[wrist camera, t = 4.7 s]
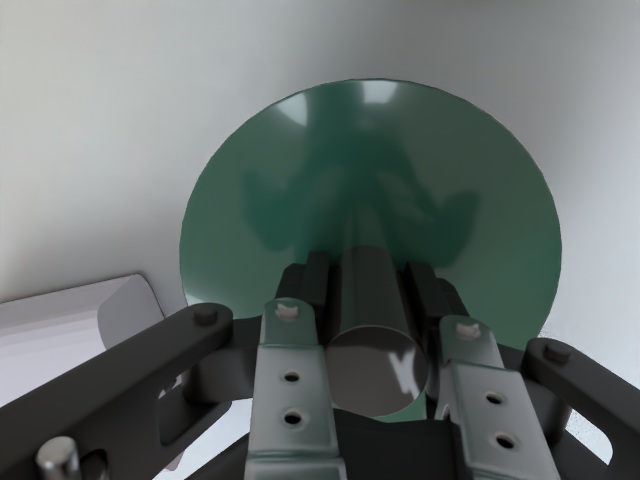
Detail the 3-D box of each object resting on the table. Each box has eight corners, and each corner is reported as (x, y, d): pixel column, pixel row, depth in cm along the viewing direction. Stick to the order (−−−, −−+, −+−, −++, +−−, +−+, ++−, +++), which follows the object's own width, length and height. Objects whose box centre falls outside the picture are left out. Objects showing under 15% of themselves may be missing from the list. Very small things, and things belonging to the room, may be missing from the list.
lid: (119, 221, 16) (-16, 303, 10) (427, -15, 12) (497, -101, 7) (321, 450, 19) (309, 613, 13) (606, 310, 16) (759, 444, 10)
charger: (-98, 320, 24) (144, 267, 22) (-17, 445, 27) (204, 410, 24) (-202, 374, 19) (90, 314, 17) (-91, 517, 22) (171, 482, 20)
